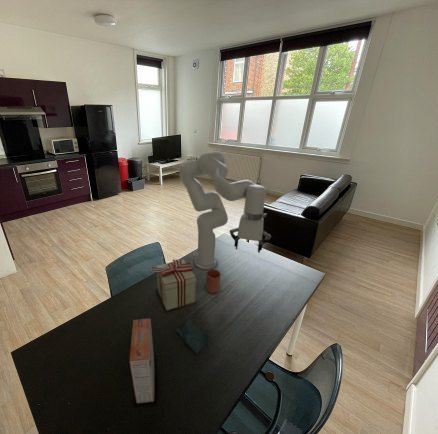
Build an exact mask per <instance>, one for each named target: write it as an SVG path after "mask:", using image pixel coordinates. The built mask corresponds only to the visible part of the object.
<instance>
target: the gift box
mask: <svg viewBox="0 0 438 434" xmlns="http://www.w3.org/2000/svg"><path fill="white" fill-rule="evenodd" d="M151 270H152V273H154V274H156V281H157V282H156V283H157V291H158V294H159V297H160V300H161V302H162V304H163V306H164V308H165V311H171V310H173V309H177V308H181V307H183V306H187V305H190V304H193V303H196V290H197V289H196V286H197V285H196V283H197V281H198V280H197V275H196V274H195V273H194V271H193V270H194V269H193V266H192V264H191V263H190V262H186V260H185V259H184V258H183V259H178V258H177V259H172V261H170V262H167V263H162V264H159V265H155V266H154V267H153V266H152V267H151Z"/></svg>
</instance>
